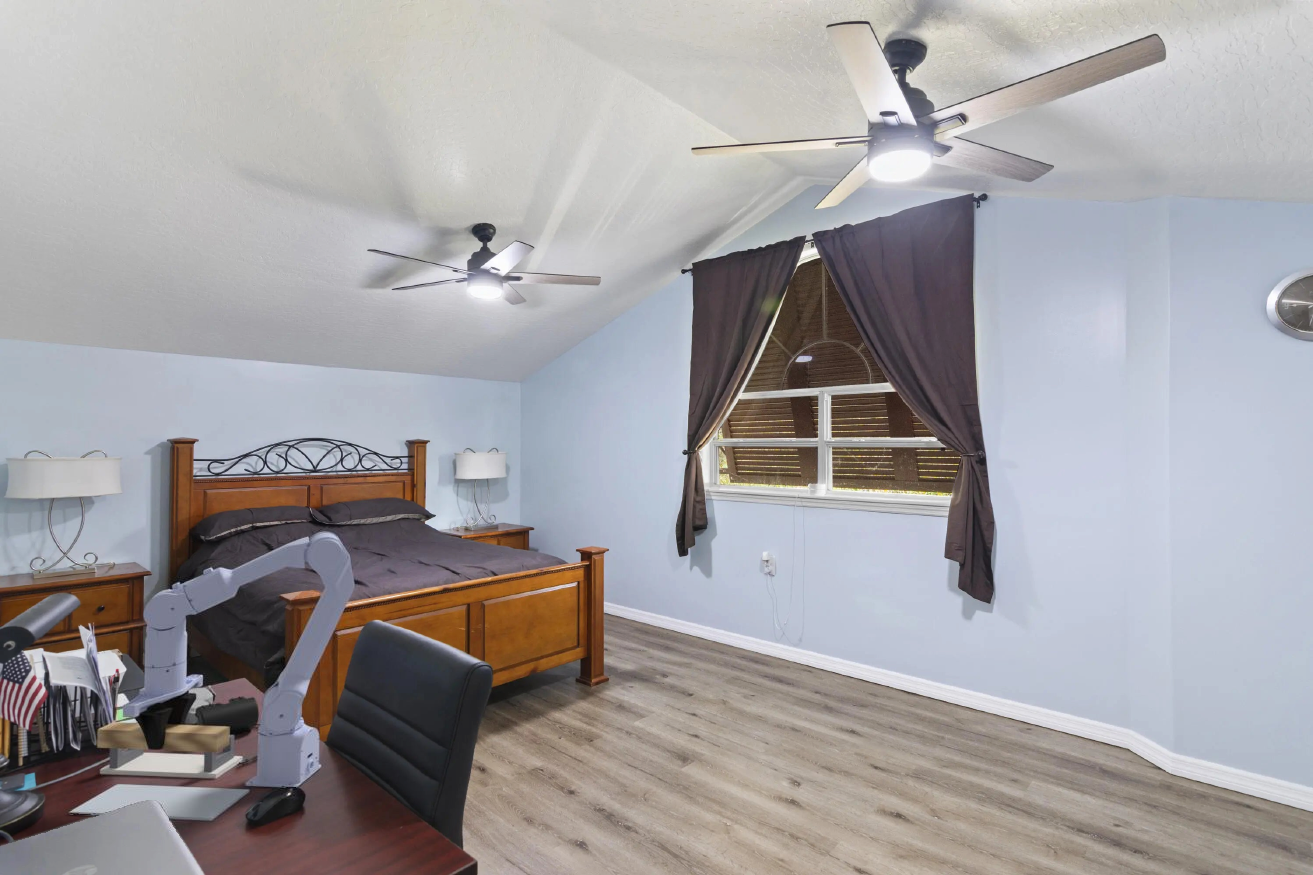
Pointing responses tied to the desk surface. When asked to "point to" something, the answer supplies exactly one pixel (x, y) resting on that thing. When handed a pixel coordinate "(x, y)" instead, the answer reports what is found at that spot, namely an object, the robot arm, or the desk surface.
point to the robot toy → (200, 703)
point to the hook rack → (172, 763)
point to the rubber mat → (166, 800)
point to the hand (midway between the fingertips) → (164, 743)
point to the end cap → (230, 715)
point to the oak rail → (175, 737)
